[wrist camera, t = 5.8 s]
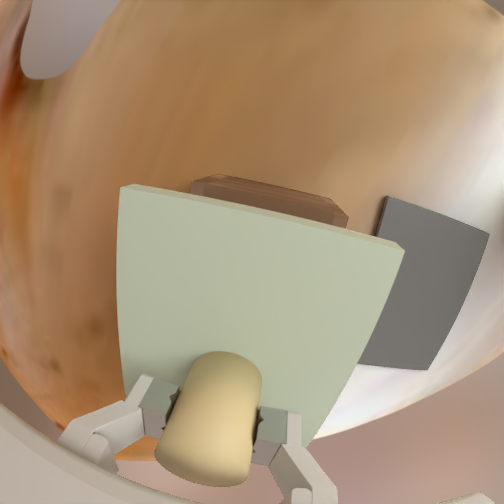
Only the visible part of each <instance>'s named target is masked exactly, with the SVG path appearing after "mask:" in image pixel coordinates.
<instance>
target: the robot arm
mask: <svg viewBox="0 0 504 504" xmlns="http://www.w3.org/2000/svg"><path fill="white" fill-rule="evenodd" d="M180 391H181V387H180V386H178V385H175V384H172V383H169V382H166V381H164V380H161V379H158V378H155V377H152V376H150V375H147V374H144V373H143V374H142V375H141V376H140V377H139V379H138V380H137V382H136V383H135V385H134V387H133V388H132V390H131V391H130V393H129V395H128V396H127V398H126V400H125V401H122V400H120V401H118V402H115V403H113V404H111V405H108V406H106V407H103V408H101V409H98V410H96V411H93V412H91V413H88V414H86V415H83V416H81V417H78V418H75V419H73V420H72V421H71V422H70V424H69V425H68V426H67V428H66V429H65V431H64V432H63V433H62V435H61V436H60V438H59V439H58V441H57V442H54V441H52V440H51V439H49V438H48V437H46V436H45V435H43V434H42V433H40V432H39V431H37V430H36V429H34V428H33V427H31V426H30V425H29V424H27V423H26V422H24V421H23V420H22V419H20V418H19V417H18V416H16V415H15V414H14V413H13V412H11V411H10V410H9V409H7V408H6V407H5V406H4V405H3V404H1V403H0V504H202V503H198V502H194V501H191V500H187V499H183V498H180V497H176V496H173V495H170V494H167V493H164V492H160V491H158V490H155V489H152V488H149V487H146V486H144V485H141V484H138V483H136V482H133V481H131V480H128V479H126V478H124V477H121V476H119V475H117V472H118V467H117V464H116V462H115V459H114V457H113V455H114V454H116V453H117V452H119V451H121V450H123V449H124V448H126V447H128V446H129V445H131V444H132V443H134V442H136V441H137V440H139V439H141V438H142V437H144V436H145V435H148V436H151V437H154V438H157V439H160V438H161V435H162V433H163V431H164V428H165V426H166V424H167V422H168V419H169V417H170V415H171V412H172V410H173V408H174V405H175V403H176V401H177V399H178V396H179V394H180ZM251 463H254V464H259V465H265V466H269V469H270V471H271V473H272V475H273V477H274V479H275V481H276V483H277V484H278V486H279V488H280V490H281V492H282V494H283V495H284V497H285V498H284V500H283V501H282V502H281V503H280V504H338V494H337V488H336V487H335V486H334V484H333V483H332V482H331V480H330V479H329V478H328V477H327V476H326V474H325V473H324V471H323V470H322V469H321V468H320V467H319V465H318V464H317V463H316V461H315V460H314V459H313V457H312V456H311V454H310V453H309V452H308V450H307V449H306V448H305V447H303V446H301V414H300V412H295V411H289V410H284V409H277V408H271V407H265V406H260V408H259V410H258V415H257V422H256V430H255V436H254V442H253V450H252V457H251ZM437 504H495V503H494V502H492V500H490V499H489V498H488V497H487V496H485V495H484V494H482V493H481V492H473V493H470V494H467V495H464V496H461V497H458V498H454V499H451V500H448V501H444V502H441V503H437Z"/></svg>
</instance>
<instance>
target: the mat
mask: <svg viewBox="0 0 504 504" xmlns="http://www.w3.org/2000/svg"><path fill="white" fill-rule="evenodd" d="M489 235H490V234H488V233H486V232H484V231H482V230H479V229H477V228H474V227H472V226H469V225H467V224H465V223H462V222H460V221H457V220H454V219H452V218H449V217H447V216H444V215H441V214H439V213H436V212H433V211H430V210H428V209H425V208H422V207H419V206H416V205H413V204H410V203H407V202H404V201H401V200H398V199H395V198H392V197H389V196H386V199H385V203H384V207H383V210H382V214H381V217H380V221H379V224H378V228H377V231H376V234H375V237H379V238H382V239H386V240H390V241H393V242H396V243H397V244H398V245H399V246H400V247H401V248H402V249H404V250H405V253H404V256H403V259H402V261H401V264H400V267H399V270H398V272H397V275H396V278H395V280H394V283H393V285H392V288H391V290H390V293H389V295H388V298H387V300H386V303H385V305H384V307H383V310H382V312H381V314H380V317H379V319H378V321H377V323H376V326H375V328H374V330H373V332H372V334H371V336H370V338H369V341H368V343H367V345H366V347H365V349H364V351H363V353H362V355H361V357H360V359H359V361H358V363H359V364H366V365H375V366H383V367H392V368H403V369H414V370H428V368H429V367H430V365H431V363H432V362H433V360H434V358H435V357H436V355H437V353H438V351H439V350H440V348H441V346H442V344H443V343H444V341H445V339H446V337H447V335H448V333H449V331H450V330H451V328H452V326H453V324H454V322H455V320H456V318H457V316H458V314H459V311H460V309H461V307H462V305H463V303H464V301H465V298H466V296H467V294H468V292H469V289H470V287H471V285H472V282H473V280H474V277H475V275H476V272H477V270H478V267H479V264H480V262H481V259H482V256H483V253H484V250H485V247H486V244H487V241H488V238H489Z"/></svg>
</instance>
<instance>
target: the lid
mask: <svg viewBox="0 0 504 504" xmlns="http://www.w3.org/2000/svg"><path fill="white" fill-rule="evenodd" d="M404 253H405V250H404V249H402V248H401V247H400V246H399V245H398V244H397V243H396V242H393V241H390V240H386V239H382V238H379V237H375V236H371V235H368V234H364V233H360V232H356V231H352V230H349V229H345V228H341V227H337V226H333V225H329V224H325V223H321V222H317V221H313V220H309V219H304V218H300V217H296V216H292V215H287V214H283V213H279V212H274V211H270V210H265V209H261V208H256V207H252V206H247V205H242V204H238V203H233V202H228V201H223V200H219V199H214V198H209V197H204V196H198V195H193V194H188V193H183V192H177V191H172V190H167V189H161V188H155V187H150V186H144V185H138V184H132V185H128V186H124V187H120V198H119V211H118V228H117V259H116V284H117V315H118V332H119V344H120V355H121V365H122V373H123V381H124V389H125V395H126V398H127V396H128V395H129V393H130V391H131V390H132V388H133V387H134V385H135V383H136V382H137V380H138V379H139V377H140V376H141V375H142V374H143V373H144V374H147V375H150V376H152V377H155V378H158V379H161V380H164V381H166V382H169V383H172V384H175V385H178V386H180V387H181V391H180V394H179V396H178V399H177V401H176V403H175V405H174V408H173V410H172V412H171V415H170V417H169V419H168V422H167V424H166V426H165V428H164V431H163V433H162V435H161V438H160V440H159V442H158V445H157V447H156V449H155V457H156V459H157V461H158V462H159V463H160V464H161V465H162V466H163V467H164V468H165V469H166V470H168V471H169V472H171V473H173V474H174V475H176V476H178V477H180V478H182V479H185V480H187V481H191V482H193V483H197V484H201V485H206V486H213V487H230V486H236V485H239V484H242V483H244V482H245V481H246V480H247V479H248V475H249V469H250V463H251V457H252V450H253V442H254V436H255V430H256V422H257V415H258V410H259V408H260V406H265V407H271V408H277V409H284V410H289V411H295V412H300V414H301V446H303V447H305V448H307V447H308V445H309V444H310V442H311V441H312V439H313V438H314V436H315V435H316V433H317V432H318V430H319V429H320V427H321V425H322V424H323V422H324V421H325V419H326V417H327V416H328V414H329V413H330V411H331V409H332V408H333V406H334V404H335V403H336V401H337V399H338V397H339V396H340V394H341V392H342V390H343V389H344V387H345V385H346V383H347V381H348V380H349V378H350V376H351V374H352V372H353V370H354V368H355V367H356V365H357V363H358V361H359V359H360V357H361V355H362V353H363V351H364V349H365V347H366V345H367V343H368V341H369V338H370V336H371V334H372V332H373V330H374V328H375V326H376V323H377V321H378V319H379V317H380V314H381V312H382V310H383V307H384V305H385V303H386V300H387V298H388V295H389V293H390V290H391V288H392V285H393V283H394V280H395V278H396V275H397V272H398V270H399V267H400V264H401V261H402V259H403V256H404Z"/></svg>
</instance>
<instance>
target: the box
mask: <svg viewBox="0 0 504 504" xmlns="http://www.w3.org/2000/svg"><path fill="white" fill-rule="evenodd" d="M189 194H193V195H198V196H204V197H209V198H214V199H219V200H223V201H228V202H233V203H238V204H242V205H247V206H252V207H256V208H261V209H265V210H270V211H274V212H279V213H283V214H287V215H292V216H296V217H300V218H304V219H309V220H313V221H317V222H321V223H325V224H329V225H333V226H337V227H341V228H345V229H346V225H347V221H348V218H349V217H348V216H347V215H346V214H345V213H344V212H343V211H342V210H341V209H340V208H339V207H338V206H337V205H336V204H335V203H334V202H333V201H332V200H331V199H329V198H325V197H321V196H317V195H313V194H309V193H305V192H301V191H296V190H292V189H288V188H283V187H279V186H275V185H270V184H265V183H261V182H256V181H251V180H246V179H241V178H236V177H231V176H226V175H221V174H217V175H214V176H210V177H207V178H203V179H200V180H196V181H193V182H191V186H190V192H189Z"/></svg>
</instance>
